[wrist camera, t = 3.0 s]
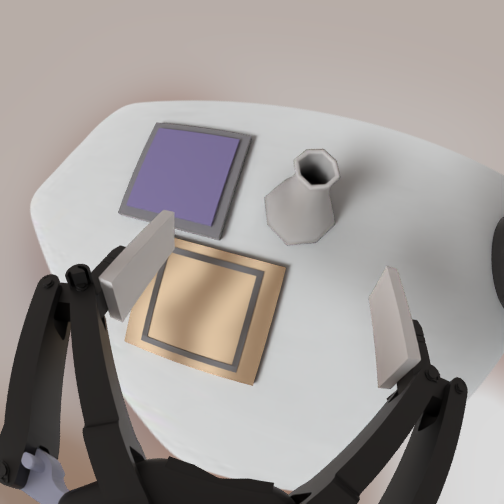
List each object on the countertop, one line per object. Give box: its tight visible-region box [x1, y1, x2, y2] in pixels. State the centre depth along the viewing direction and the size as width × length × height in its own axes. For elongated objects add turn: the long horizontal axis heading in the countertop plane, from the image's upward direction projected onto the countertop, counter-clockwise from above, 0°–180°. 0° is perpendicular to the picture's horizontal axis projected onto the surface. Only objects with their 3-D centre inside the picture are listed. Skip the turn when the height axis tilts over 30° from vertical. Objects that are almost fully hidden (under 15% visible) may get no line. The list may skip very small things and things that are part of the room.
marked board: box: [125, 238, 286, 386], centre depth 26 cm, size 14×12×1 cm
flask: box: [264, 149, 340, 245], centre depth 22 cm, size 7×7×10 cm
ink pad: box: [118, 123, 251, 240], centre depth 28 cm, size 12×12×1 cm
